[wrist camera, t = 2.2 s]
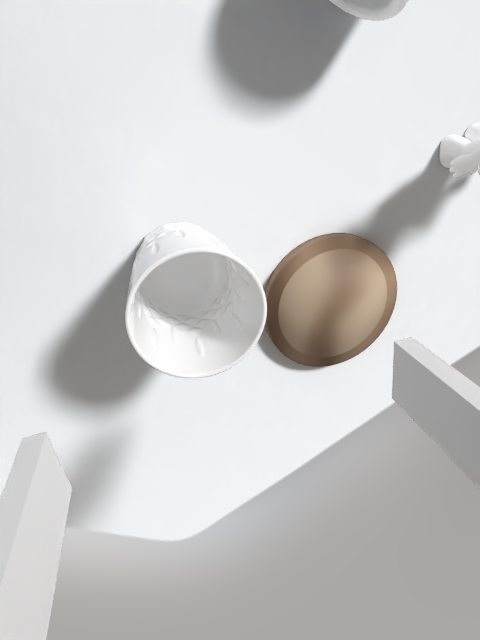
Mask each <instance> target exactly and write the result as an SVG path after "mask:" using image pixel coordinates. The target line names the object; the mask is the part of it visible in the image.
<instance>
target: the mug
mask: <svg viewBox="0 0 480 640" xmlns="http://www.w3.org/2000/svg"><path fill="white" fill-rule="evenodd" d="M329 1H331V2H332V3H333V4H335V5H336V6H337V7H339V8H340V9H342V10H344V11H346V12H347V13H349V14H351V15H354V16H356V17H359V18H362V19H366V20H372V21H381V20H386V19H390V18H392V17H394V16H396V15H397V14H398V13H399V12H400V11H401V10H402V9H403V8H404V7H405V5H406V3H407V2H408V0H329Z"/></svg>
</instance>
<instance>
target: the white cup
mask: <svg viewBox="0 0 480 640" xmlns="http://www.w3.org/2000/svg"><path fill="white" fill-rule="evenodd" d="M266 316H267V302H266V296H265V292H264V289H263V287H262V284H261V282H260V280H259V279H258V277H257V276H256V274H255V273H254V272H253V270H252V269H251V268H250V267H249V266H248V265H247V264H245V263H244V262H243V261H242V260H241V259H240V258H239V257H238V256H237V255H236V254H235V253H234V252H233V251H231V250H230V249H229V248H228V247H227V246H226V245H225V244H224V243H223V242H221V241H220V240H219V239H218V238H216V237H215V236H213V235H212V234H210V233H208V232H207V231H206V230H205V229H204V228H203V227H200V226H197V225H194V224H191V223H188V222H184V221H182V222H174V223H167V224H162V225H161V226H159V227H158V228H156V229H155V230H154V231H152V232H151V233H149V234H148V235H146V236H145V238H144V240H143V242H142V244H141V245H140V247H139V249H138V251H137V252H136V258H135V261H134V264H133V268H132V273H131V277H130V282H129V289H128V296H127V303H126V309H125V325H126V330H127V334H128V337H129V340H130V342H131V344H132V346H133V348H134V349H135V351H136V352H137V353H138V355H139V356H140V357H141V358H142V359H143V360H144V361H145V362H146V363H148V364H149V365H150V366H152V367H153V368H155V369H157V370H158V371H160V372H163V373H165V374H168V375H171V376H175V377H180V378H203V377H208V376H213V375H216V374H219V373H221V372H224V371H226V370H228V369H230V368H231V367H233V366H235V365H236V364H238V363H239V362H240V361H241V360H243V359H244V358H245V357H246V356H247V355H248V354H249V353H250V352H251V350H252V349H253V348H254V347H255V345H256V344H257V342H258V340H259V338H260V337H261V334H262V332H263V329H264V326H265V322H266Z"/></svg>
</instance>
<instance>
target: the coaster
mask: <svg viewBox="0 0 480 640" xmlns="http://www.w3.org/2000/svg"><path fill="white" fill-rule="evenodd" d="M265 296H266V302H267V316H266V322H265V327H266V330H267V332H268V334H269V336H270V337H271V339H272V341H273V342H274V344H275V345H276V346H277V348H278V349H279V350H280V351H281V352H282V353H283V354H284V355H285V356H287V357H288V358H290V359H291V360H293V361H295V362H297V363H300V364H303V365H308V366H317V367H321V366H330V365H335V364H338V363H341V362H344V361H347V360H349V359H351V358H353V357H355V356H356V355H358V354H360V353H361V352H362V351H364V350H365V349H366V348H368V347H369V346H370V345H371V344H372V343H373V342H374V341H375V340H376V339H377V338H378V336H379V335H380V334H381V333H382V331H383V330H384V328H385V327H386V325H387V323H388V321H389V319H390V317H391V315H392V312H393V309H394V306H395V302H396V296H397V281H396V275H395V271H394V268H393V266H392V264H391V262H390V260H389V259H388V257H387V256H386V254H385V253H384V252H383V251H382V250H381V249H380V248H378V247H377V246H376V245H374V244H373V243H371V242H369V241H367V240H364V239H362V238H360V237H358V236H354V235H351V234H345V233H332V234H325V235H321V236H318V237H315V238H312V239H310V240H308V241H306V242H304V243H302V244H301V245H299V246H297V247H296V248H295V249H293V250H292V251H291V252H290V253H289V254H288V255H287V256H286V257H285V258H284V259H283V260H282V261H281V262H280V263H279V265H278V266H277V267H276V269H275V270H274V272H273V273H272V275H271V277H270V279H269V281H268V284H267V287H266V290H265Z"/></svg>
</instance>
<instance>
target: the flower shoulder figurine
mask: <svg viewBox="0 0 480 640" xmlns="http://www.w3.org/2000/svg"><path fill="white" fill-rule="evenodd" d="M440 162H441V164H442V165H443V166H444V167H447V168H450V172H451V173H454V172H455V173H454V174H453V177H454V178H458V177H460V176H463V175H465V174H467V173H470V174H471V175H472V174H473V173H475V172H476V171H477V169H478V172H479V175H480V123H474V124H472V125H470V126H469V127H468V128H467V130H466V132H465V138H464V137H462V136H459V135H448V136H446V137H445V138H444V139H443V140H442V141H441V144H440ZM478 166H479V167H478Z"/></svg>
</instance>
